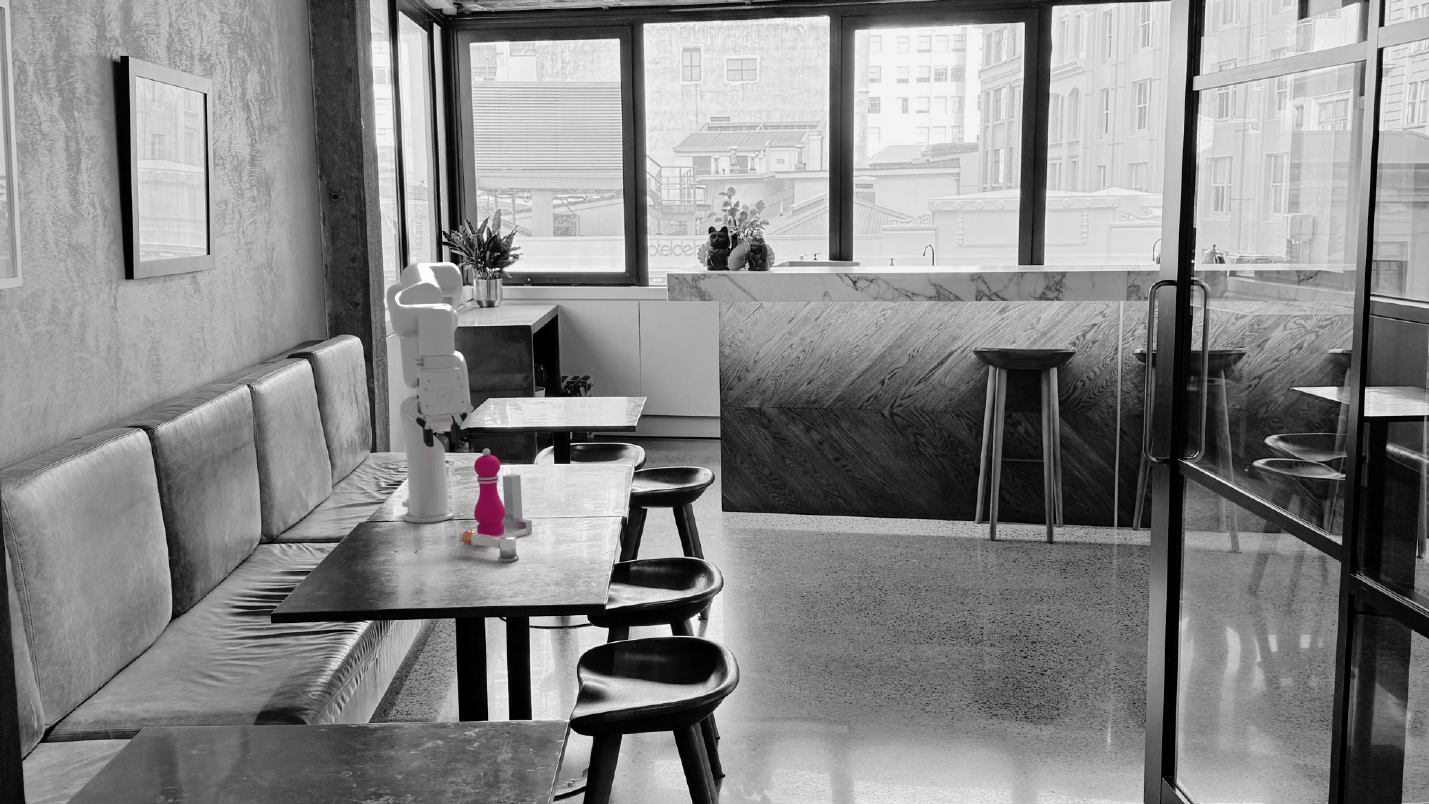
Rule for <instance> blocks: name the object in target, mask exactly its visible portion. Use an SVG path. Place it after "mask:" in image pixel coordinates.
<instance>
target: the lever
mask: <svg viewBox="0 0 1429 804" xmlns="http://www.w3.org/2000/svg"><path fill="white" fill-rule="evenodd" d="M463 532H464V531H463ZM461 540H462V543H463V544H464V545H466V546H472V545H478V546H483V547H488V548H494V549H499V556H500V557H501V558H512V557H515V556H516V555H518V554H517V539H516V537H514V536H504V537H496V536H490V535H485V534H479V533H475V532H474V531H472V530H471V529H467V530H465V532H464V533H463V534H462V539H461Z"/></svg>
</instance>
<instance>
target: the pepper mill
mask: <svg viewBox="0 0 1429 804" xmlns="http://www.w3.org/2000/svg"><path fill="white" fill-rule="evenodd" d="M473 465H474V466H473V470H474V472H475V473H476V474H477V476H476V479H477V480H476V482H477V484H478V485H479V494H478V500H477V502H476V504H475V506H474V510H473V511H474V512H473V517H474V518H473V519H475V521H476V522H477V523H478V524H477V526H476V528H477V533H479V534H485V535H496V534H500V533H502V532H504V524H503V523H501V522H502V520H503V519H504V517H505V509H504V502H503V501H502V499H501V497H500V496H499V491H498V482H499V481H500V479H499V474H498V473H499V472H500V470H501V462H500V460H499V458H498V457H496V456H494V455H492V454H491V450H490V449H489V448H484V449H483V450H482V455H481V456H479V457H478V458H476V460H475V461H474V464H473Z"/></svg>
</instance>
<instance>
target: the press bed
mask: <svg viewBox="0 0 1429 804" xmlns="http://www.w3.org/2000/svg"><path fill="white" fill-rule="evenodd" d="M502 488H503V506H504V509H505V517H504V519H503V520H502V522H501V523H503V524H504V532H502V533H500V534H496V535H490V536H496V537H504V536H514V537H517V538H519V537H518V536H520V537H523V536H525V534H526V535H528V534H527V533H530V534H532V533H533V521H532V520H530V519H524V518H523V504H522V503H523V502H522V482H521V474H516V473H509V474H506V475H502ZM470 530H472V531H474V532H475V533H477V527H475V528H472V529H470ZM465 531H466V530H465ZM465 531H461V532H459V540H462V534H463V533H464V532H465ZM497 560H499V561H501V562H500V563H504V562H507V563H514V562H517V561H519V555H518V554H517V555H516V556H515V557H512V558H501V557H500V555H499V556H498V557H497ZM516 560H517V561H516ZM499 561H498V562H499ZM513 561H514V562H513Z"/></svg>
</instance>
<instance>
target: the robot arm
mask: <svg viewBox="0 0 1429 804" xmlns="http://www.w3.org/2000/svg"><path fill="white" fill-rule="evenodd" d="M463 280H464V279H463V275H462V272H461V270H460V268H459V267H458V266H457V265H456V264H455V263H453V262H448V261H447V262H445V261H444V262H419V263H412V264H410V265H408V266H406V267H405V268H404V269H403V270H402V272H401V275H400V282H397V283H394V284H392V285H390V286H389V287H388V289H387V291H386V304H387V309H388V312H389V317H390V319H389V320H390V323H391V326H392V327H391V328H392V330H393V333H394V334H395V336H396V337H398V338H399V344H400V346H399V347H400V356H401V367H402V376H403V377H402V378H403V381H404V384H405V386H406V387H407V388H408V389H411V390H415V395H412V396H408V397H406V398H405V399H403V401H402V402H401V404H400V405H399V406H400V407H399V415H400V420H401V424H402V430H403V436H404V442H405V452H406V454H405V455H406V467H407V468H406V469H407V470H406V471H407V483H408V498H407V499H406V500H405V501H403V502H401V503H402V504H401V505H402V507H403V508H407V512H406V513H404V515H403V519H404V521H406V522H409V523H414V524H415V523H417V524H420V523H423V524H424V523H425V524H426V523H428V524H429V523H436V522H442V521H446V520H447V521H448V520H450V519H452V518H454V516H456V512H455V510H454V509H453V508H449V501H448V500H449V499H448V498H449V497H448V484H447V483H448V482H447V480H448V478H447V467H446V465H447V464H446V450H445V447H444V445H443V443H442V442H441V441H440V440H439V439H438V438H437V437H436V436H435V435H434V433H439V432H445V431H446V432H448V431H450V439H451V443H453V444H456V445H458V444H461V443H460V442H461V441H460V440H461V439H462V432H461V431H462V430H465V429H467V428H468V427H469V426H471V422H472V412H473V411H474V410H475V408H474V406H473V405H472V404H471V402H472V401H471V393H470V392H471V391H470V385H469V374H468V373H469V372H468V365H467V362H466V359H465V356H464V355H463V354H462V353H461V352H460V351H457V350H455V332H456V330H457V329H458V326H459V325H458V323H459V317H458V313H457V310H458V309H459V305H460V301H461V297H462V294H463V289H464V281H463Z"/></svg>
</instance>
